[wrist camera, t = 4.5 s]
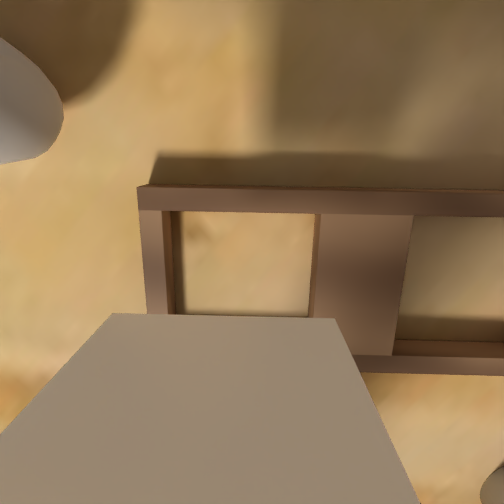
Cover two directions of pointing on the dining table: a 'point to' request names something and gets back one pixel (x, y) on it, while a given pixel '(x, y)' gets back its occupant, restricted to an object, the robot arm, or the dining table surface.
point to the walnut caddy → (336, 261)
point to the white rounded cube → (204, 419)
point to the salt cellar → (493, 488)
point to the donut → (26, 107)
